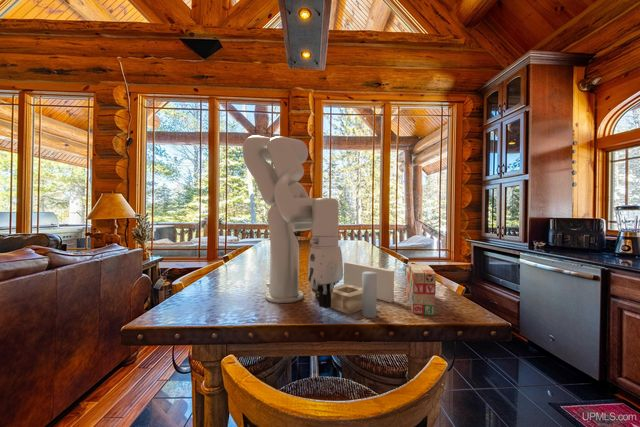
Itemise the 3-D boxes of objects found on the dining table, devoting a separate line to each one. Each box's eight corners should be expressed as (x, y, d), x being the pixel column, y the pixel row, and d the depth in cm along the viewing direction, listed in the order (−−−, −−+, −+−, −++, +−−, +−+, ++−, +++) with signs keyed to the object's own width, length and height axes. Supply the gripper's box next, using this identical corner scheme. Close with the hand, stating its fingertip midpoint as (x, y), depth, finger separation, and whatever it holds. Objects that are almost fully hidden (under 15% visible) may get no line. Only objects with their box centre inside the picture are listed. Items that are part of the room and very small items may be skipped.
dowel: (359, 315, 81) (359, 272, 81) (367, 311, 84) (368, 270, 84) (370, 319, 78) (371, 275, 78) (379, 315, 81) (379, 273, 81)
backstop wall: (343, 289, 107) (343, 262, 107) (347, 288, 108) (347, 261, 108) (390, 302, 92) (390, 271, 92) (393, 301, 94) (394, 270, 94)
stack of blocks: (404, 292, 104) (405, 258, 104) (423, 293, 103) (423, 259, 102) (412, 314, 83) (413, 271, 83) (435, 316, 82) (436, 272, 81)
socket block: (324, 305, 89) (324, 289, 89) (345, 298, 96) (345, 283, 95) (349, 314, 81) (349, 297, 81) (370, 306, 88) (370, 290, 88)
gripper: (314, 245, 73) (314, 317, 73) (352, 241, 84) (352, 303, 84) (296, 242, 79) (296, 309, 79) (333, 239, 89) (333, 298, 89)
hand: (325, 306), depth 81 cm, fingers closed
